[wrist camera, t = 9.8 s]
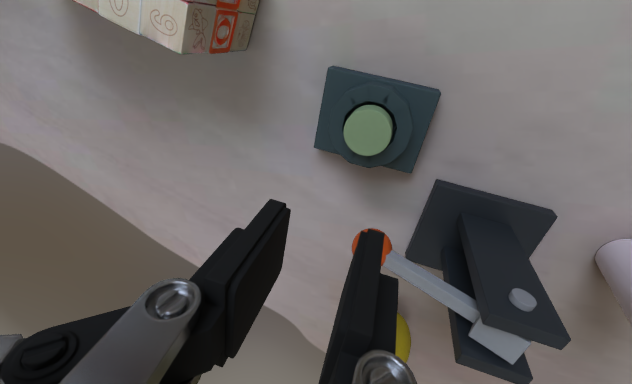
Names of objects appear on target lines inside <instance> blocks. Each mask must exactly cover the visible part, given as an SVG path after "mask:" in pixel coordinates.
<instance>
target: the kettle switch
mask: <svg viewBox="0 0 632 384" xmlns="http://www.w3.org/2000/svg"><path fill="white" fill-rule="evenodd" d="M370 229H373V228H370ZM373 230H376V231H379V232H382V231H380V230H378V229H373ZM363 231H364V232H367V231H368V229H365V230H363ZM360 233H361V232H359V233H358V234H357V235H356V237H355V238H354V240H353V243H352V252H353V255H354V252H355V249H356V246H357V242H358V239H359V236H360ZM381 266H384V267H386V268H387V269H389V270H390V271H392V272H394V273H395V274H397V275H398V276H400V277H401V278H403V279H405V280H406V281H408V282H409V283H411V284H412V285H414V286H416V287H417V288H419V289H420V290H422V291H424V292H425V293H427V294H428V295H430V296H431V297H433V298H435V299H436V300H438V301H439V302H441V303H442V304H444V305H446V306H447V307H449V308H450V309H452V310H453V311H455V312H457V313H458V314H460V315H461V316H463V317H464V318H466V319H468V320H469V321H471V322H472V323H473V325H472V327H471V329H470V332H469V334H468V336H470V337H471V338H473V339H474V340H476V341H477V342H479V343H480V344H482V345H483V346H485V347H486V348H488V349H489V350H491V351H492V352H494V353H495V354H497V355H498V356H500V357H501V358H503V359H504V360H506V361H508V362H509V363H511V364H512V365H513V364H514V363H515V362H516V361H517V359H518V358H519V357H520V356H521V355H522V354H523V352H524V351H525V350H526V349H527V348H528V347H529V346H530V344H531V340H529V339H526V338H523V337H520V336H517V335H514V334H511V333H508V332H505V331H502V330H499V329H496V328H493V327H489V326H486V325H483V324H482V320H481V316H480V312H479V308H478V304H477V301H476V300H475V299H473V298H471V297H470V296H468V295H466V294H465V293H463V292H461V291H460V290H458V289H456V288H455V287H453V286H451V285H450V284H448V283H446V282H445V281H443V280H441V279H440V278H438V277H436V276H434V275H433V274H431V273H429V272H428V271H426V270H424V269H423V268H421V267H419V266H418V265H416V264H414V263H413V262H411V261H409V260H408V259H406V258H404V257H403V256H401V255H399V254H398V253H396V252H394V251H393V250H392V245H391V242H390V240H389V238H388V236H387V235H386V234H385V236H384V244H383V253H382V261H381Z"/></svg>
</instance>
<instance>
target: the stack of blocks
mask: <svg viewBox="0 0 632 384" xmlns="http://www.w3.org/2000/svg"><path fill="white" fill-rule="evenodd" d="M73 1H75V2H77V3H79V4H81V5H83V6H85V7H87V8H89V9H90V10H92V11H94V12H97V13H99V14H100V16H102V17H104V18H106V19H107V20H109V21H111V22H113V23H115V24H117V25H119V26H121V27H123V28H125V29H127V30H129V31H131V32H133V33H135V34H137V35H140V36H145V37H147V38H149V39H151V40H153V41H155V42H157V43H159V44H161V45H162V46H164V47H167V48H169V49H170V50H172V51H174V52H176V53H178V54H194V53H209V54H215V53H225V52H233V51H242V50H246V49H247V45H248V41H249V37H250V33H251V29H252V25H253V21H254V18H255V13H256V11H257V7H258V3H259V0H73Z"/></svg>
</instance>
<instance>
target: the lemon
mask: <svg viewBox="0 0 632 384" xmlns="http://www.w3.org/2000/svg"><path fill="white" fill-rule="evenodd" d="M410 347H411V337H410V331H409V328H408V325H407V323H406V321H405V320H404V318H403V317H402V316H401V315H400V314H399V313H398V312H397V330H396V354H395V355H396V356H398V357H399V358H400V359H402V360H403V361H404V362H405V363H406V362H407V360H408V357H409V353H410Z"/></svg>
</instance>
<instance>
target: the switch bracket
mask: <svg viewBox="0 0 632 384" xmlns="http://www.w3.org/2000/svg"><path fill="white" fill-rule="evenodd" d="M556 219H557V216H556V214H555V213H554V212H553V211H552V210H550V209H546V208H542V207H539V206H535V205H531V204H527V203H524V202H520V201H516V200H513V199H509V198H505V197H501V196H498V195H494V194H490V193H486V192H483V191H479V190H475V189H471V188H468V187H464V186H460V185H456V184H453V183H449V182H445V181H441V180H438V179H437V180H436V182H435V184H434V186H433V189H432V191H431V193H430V196H429V198H428V201H427V203H426V205H425V208H424V210H423V212H422V215H421V217H420V219H419V222H418V224H417V227H416V229H415V231H414V234H413V236H412V238H411V241H410V243H409V245H408V248H407V250H406V259H408V260H409V261H412V262H415V263H419V264H422V265H425V266H428V267H431V268H435V269H438V270H441V271H443V277H444V281H445V282H446V283H448V284H450V285H451V286H453V287H455V288H456V289H458V290H460V291H461V292H463V293H465V294H466V295H468V296H470V297H471V298H473V299H475V300H476V301H477V304H478V308H479V312H480V316H481V320H482V324H483V325H486V326H489V327H493V328H496V329H499V330H502V331H505V332H508V333H511V334H514V335H517V336H520V337H523V338H526V339H529V340H532V341H535V342H538V343H541V344H544V345H547V346H550V347H553V348H556V349H559V350H562V349H563V348H564V347H565V346H566V345H567V344H568V343H569V342H570V341H571V338H570V336H569V334H568V333H567V331H566V329H565V327H564V325H563V323H562V321H561V319H560V317H559V316H558V314H557V312H556V310H555V308H554V306H553V304H552V302H551V300H550V299H549V297H548V295H547V293H546V291H545V289H544V287H543V285H542V283H541V282H540V280H539V278H538V276H537V274H536V272H535V270H534V268H533V266H532V265H531V263H530V261H529V257H530V256H531V254H532V253H533V251H534V250H535V249H536V247H537V246H538V244H539V243H540V242H541V240H542V239H543V237H544V236H545V234H546V233H547V232H548V230H549V229H550V227H551V226H552V224H553V223H554V222H555V220H556ZM448 312H449V319H450V326H451V333H452V340H453V347H454V354H455V361H456V363H458V364H461V365H464V366H467V367H470V368H472V369H475V370H478V371H481V372H484V373H487V374H489V375H492V376H495V377H498V378H501V379H504V380H507V381H509V382H512V383H515V384H529V383H530V382H531V381H532V380H533V377H532V374H531V371H530V368H529V366H528V363H527V360H526V357H525V355H524V352H523V354H522V355H521V356H520V357H519V358H518V359H517V361H516V362H515V363H514V364H513V365H512V364H511V363H509V362H508V361H506V360H504V359H503V358H501V357H500V356H498V355H497V354H495V353H494V352H492V351H491V350H489V349H488V348H486V347H485V346H483V345H482V344H480V343H479V342H477V341H476V340H474V339H473V338H471V337H470V336H468V334H469V332H470V329H471V327H472V325H473V323H472V322H471V321H469V320H468V319H466V318H464V317H463V316H461V315H460V314H458V313H457V312H455V311H453V310H452V309H450V308H449V307H448Z"/></svg>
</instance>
